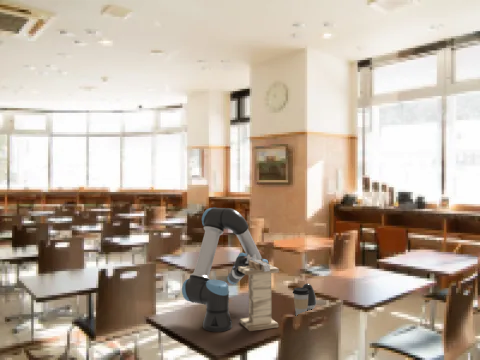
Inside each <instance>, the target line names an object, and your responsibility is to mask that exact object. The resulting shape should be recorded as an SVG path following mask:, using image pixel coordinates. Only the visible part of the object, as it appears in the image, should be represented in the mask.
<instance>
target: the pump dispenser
mask: <svg viewBox="0 0 480 360" xmlns="http://www.w3.org/2000/svg"><path fill="white" fill-rule="evenodd" d="M301 288H307V289H308V291H309V294H308V307H307V311H312V310H314V309H315V307H316V306H317V298H316V294H315V291H314V288H313V286H312V285H311V284H310V283H304V284H303V285H302V287H301ZM311 309H312V310H311Z"/></svg>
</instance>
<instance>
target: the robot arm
mask: <svg viewBox="0 0 480 360" xmlns="http://www.w3.org/2000/svg"><path fill="white" fill-rule="evenodd" d="M201 223H202V226H203V230H204V234H203V238H202V242H201V245H200V248H199V252H198V255H197V256H198V257H197V260H196V263H195V267H194V271H193V273H190V275H189V278H187V279H185V281H183V282H182V286H181V294H182V296H183V299H184V300H185V301H187V302H190V303H195V304H200V305H205V310H206V311H205V315H204V319H203V322H202V329H203V330H206V331H208V332H216V333H218V332H219V333H220V332H225V331H230V329H232V327H233V322H232V318H231V315H230V311H229V309H230V308H229V306H230V305H229V304H230V302H229V301H230V298H229V296H230V290H229V285H228V283H229V284H231V285H236V284H238V283H239V282H240V281H241V280H242V278H244V277H245V276H246V274H244V273H242V272H241V271H239V270H238V266H249V264H248V261H249V260H250V257H252V258H254V259H257V260H261V261H263V262H266V263H268V264H269V261H268V259H265V258H263V257H262V255H261V253H260V251H259V248H258V247H257V245H256V243H255V241H254V239H253V237H252V235H251V234H252V233H251V232H250V230H249V224H248V222H247V220H246V219H245V217H244V216H243V215H242V214H241V213H240V212H239V211H237V210H235V209H234V208H229V207H227V208H226V207H209V208H207V209H206V210H205V211H204V212H203V213H202V216H201ZM225 230H230V231H232V233H233V234H234V235H236V238H237V239H238V241H239V243H240V245H241V246H242V249H243V250H244V252H245V253H244V252H239V254H238V255H237V256H236V259H235V261H234V264H233V265H232V268H231V270H230V272H229V273H228V275H227V282H228V283H227V282H226V281H224V280H221V279H211V278H210V274H211V269H212V267H213V262H214V259H215V256H216V255H215V254H216V252H217V248H218V243H219V239H220V236H221V235H223V234H224V231H225ZM245 257H246V258H245ZM269 265H270V264H269Z"/></svg>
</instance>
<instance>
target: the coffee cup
mask: <svg viewBox="0 0 480 360" xmlns="http://www.w3.org/2000/svg"><path fill="white" fill-rule="evenodd" d="M292 294H293V300H294V301H293V302H294V309H295V316H296V317H297V315H298V314H300V313H302V312H305V311H308V310H307V307H308V294H309V291H308V289H307V288H302V287H295V288H293V290H292Z"/></svg>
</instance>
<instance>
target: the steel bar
mask: <svg viewBox="0 0 480 360" xmlns="http://www.w3.org/2000/svg"><path fill="white" fill-rule="evenodd" d="M245 258H246V257H245ZM250 260H252V261H254V262H256V263H258V264H260V270H262V271H264V272H266V271H270V265H271V264H269V265H268V264H266V263H264V262H261V261H259V260H257V259H254V258H252V257H250ZM248 264H249V261H248Z"/></svg>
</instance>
